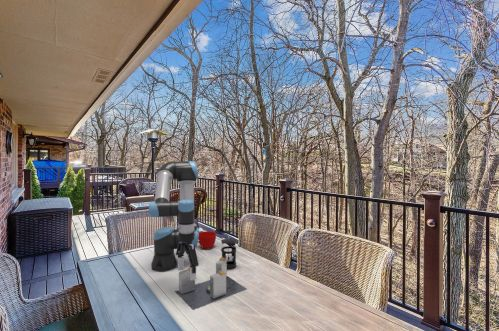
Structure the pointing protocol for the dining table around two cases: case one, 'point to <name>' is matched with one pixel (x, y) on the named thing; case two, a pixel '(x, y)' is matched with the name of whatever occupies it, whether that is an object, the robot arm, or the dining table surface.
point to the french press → (230, 243)
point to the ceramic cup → (207, 239)
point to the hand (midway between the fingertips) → (186, 274)
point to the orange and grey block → (185, 282)
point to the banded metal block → (218, 284)
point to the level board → (208, 293)
